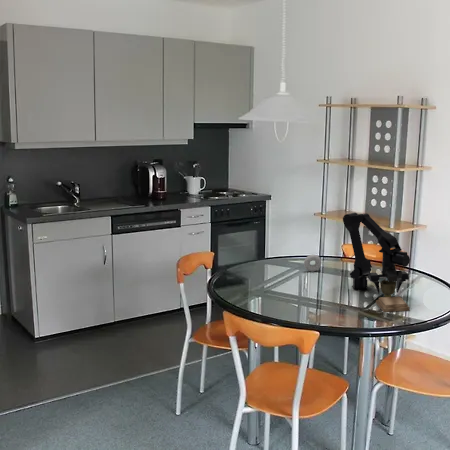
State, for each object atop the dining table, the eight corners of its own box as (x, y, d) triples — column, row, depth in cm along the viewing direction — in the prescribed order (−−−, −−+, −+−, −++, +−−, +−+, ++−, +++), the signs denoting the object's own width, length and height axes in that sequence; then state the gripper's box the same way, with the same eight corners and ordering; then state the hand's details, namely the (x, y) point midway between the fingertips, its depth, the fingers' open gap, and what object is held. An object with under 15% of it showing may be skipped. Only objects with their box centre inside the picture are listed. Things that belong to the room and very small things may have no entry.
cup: (384, 293, 289) (384, 278, 288) (398, 296, 285) (398, 280, 283) (377, 297, 284) (377, 282, 282) (391, 300, 279) (392, 284, 277)
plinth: (383, 311, 265) (383, 305, 265) (375, 302, 277) (376, 296, 277) (409, 310, 266) (409, 304, 265) (400, 301, 278) (400, 295, 277)
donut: (305, 272, 328) (304, 255, 326) (303, 271, 331) (303, 254, 329) (322, 271, 329) (322, 254, 327) (320, 269, 333) (320, 253, 330)
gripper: (374, 268, 272) (373, 299, 276) (413, 266, 273) (412, 297, 276) (367, 261, 283) (367, 291, 287) (405, 259, 284) (404, 289, 287)
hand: (387, 292), depth 284 cm, fingers open, 9 cm apart
